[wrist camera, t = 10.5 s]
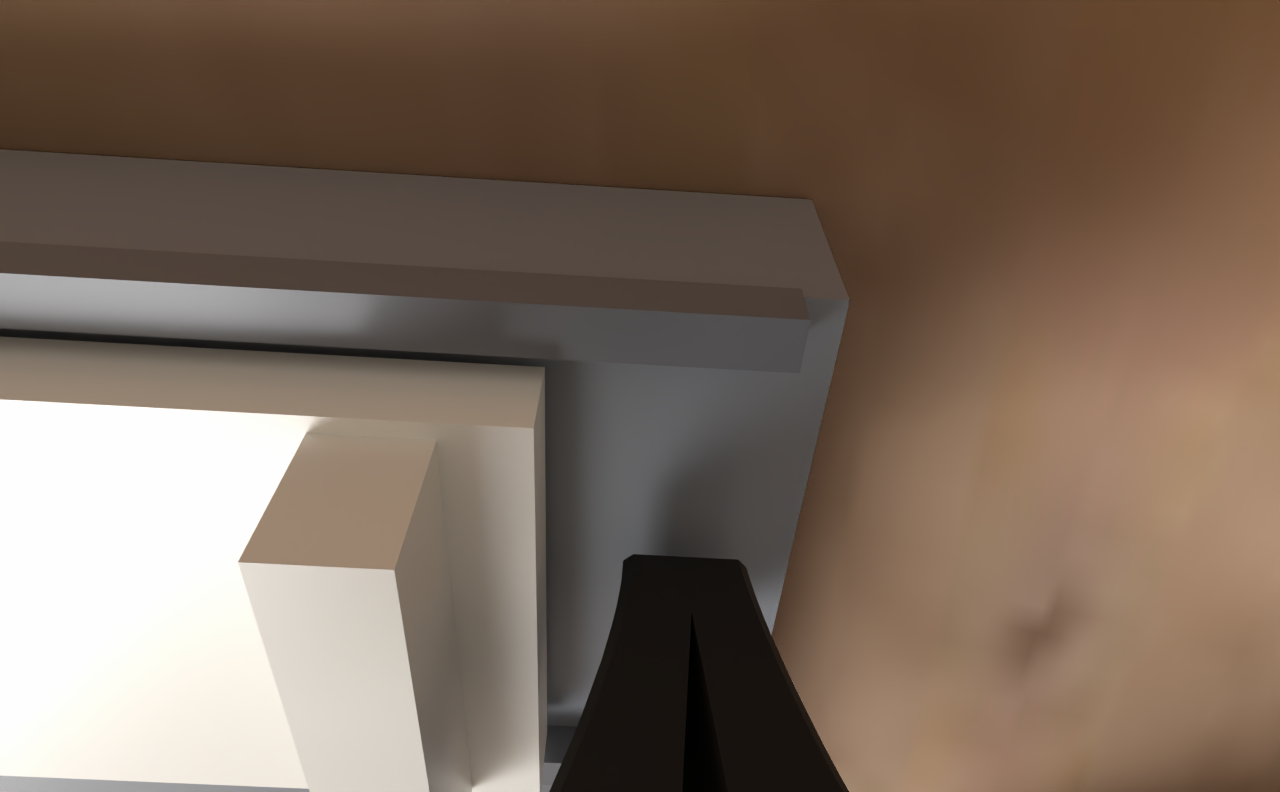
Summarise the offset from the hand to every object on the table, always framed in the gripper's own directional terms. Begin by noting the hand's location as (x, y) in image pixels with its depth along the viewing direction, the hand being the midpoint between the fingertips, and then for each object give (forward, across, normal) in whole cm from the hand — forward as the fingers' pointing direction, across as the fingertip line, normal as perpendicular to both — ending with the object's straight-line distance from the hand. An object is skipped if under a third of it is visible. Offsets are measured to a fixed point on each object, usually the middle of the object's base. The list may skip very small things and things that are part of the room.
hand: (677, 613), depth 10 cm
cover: (0, +7, 0) cm, 7 cm away
